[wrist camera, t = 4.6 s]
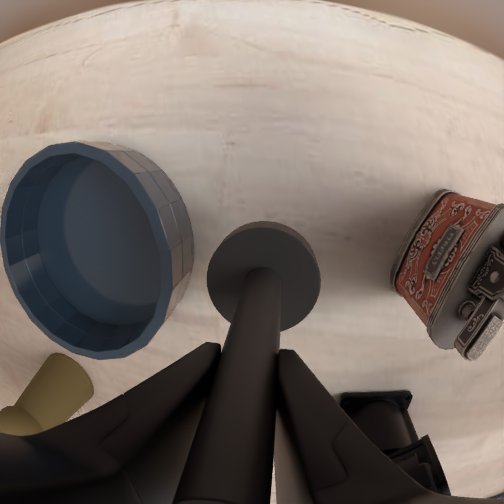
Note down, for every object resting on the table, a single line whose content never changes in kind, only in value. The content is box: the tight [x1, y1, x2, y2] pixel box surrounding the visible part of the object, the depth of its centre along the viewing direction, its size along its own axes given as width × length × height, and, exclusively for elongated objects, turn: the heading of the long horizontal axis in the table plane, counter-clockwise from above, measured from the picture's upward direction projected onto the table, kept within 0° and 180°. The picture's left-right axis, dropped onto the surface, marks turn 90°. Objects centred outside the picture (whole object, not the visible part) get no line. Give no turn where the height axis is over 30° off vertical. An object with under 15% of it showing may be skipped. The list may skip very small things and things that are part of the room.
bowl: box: [0, 141, 194, 360], centre depth 19 cm, size 14×14×4 cm
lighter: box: [389, 189, 504, 361], centre depth 14 cm, size 8×3×10 cm, turn 153°
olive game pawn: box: [0, 353, 93, 436], centre depth 21 cm, size 6×6×11 cm
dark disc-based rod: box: [172, 221, 321, 504], centre depth 9 cm, size 5×5×12 cm
